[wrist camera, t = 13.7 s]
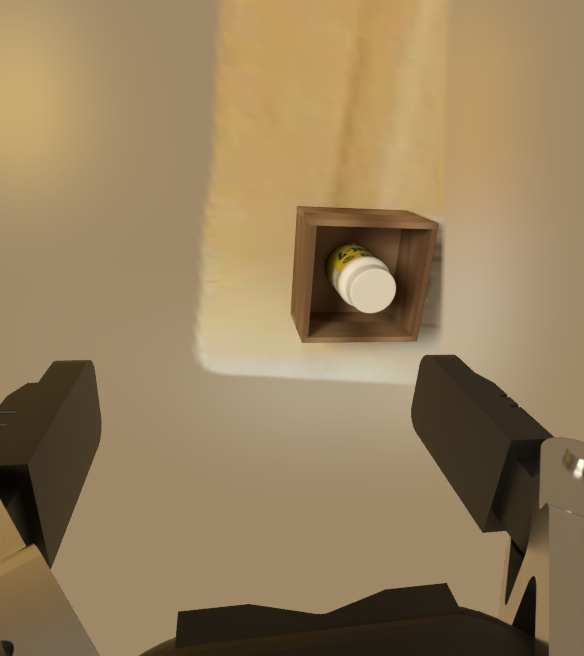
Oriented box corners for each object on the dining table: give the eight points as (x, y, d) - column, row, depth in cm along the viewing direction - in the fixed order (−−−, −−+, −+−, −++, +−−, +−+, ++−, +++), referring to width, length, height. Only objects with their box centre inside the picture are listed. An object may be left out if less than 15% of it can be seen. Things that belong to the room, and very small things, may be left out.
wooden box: (290, 314, 46) (302, 342, 40) (297, 206, 42) (311, 219, 36) (391, 314, 48) (417, 341, 42) (407, 210, 44) (439, 223, 37)
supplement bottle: (369, 238, 44) (402, 260, 36) (369, 283, 46) (401, 314, 38) (322, 244, 43) (345, 267, 36) (324, 289, 45) (346, 321, 37)
